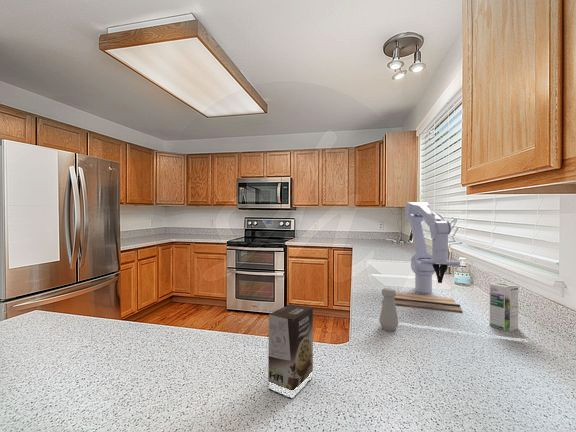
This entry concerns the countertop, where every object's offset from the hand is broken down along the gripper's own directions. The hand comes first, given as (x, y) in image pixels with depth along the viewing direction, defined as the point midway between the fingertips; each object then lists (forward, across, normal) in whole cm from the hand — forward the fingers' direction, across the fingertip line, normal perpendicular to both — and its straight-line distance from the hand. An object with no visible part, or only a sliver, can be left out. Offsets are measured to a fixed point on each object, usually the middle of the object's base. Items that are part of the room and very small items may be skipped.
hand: (439, 282), depth 121 cm
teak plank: (+8, -8, -1) cm, 11 cm away
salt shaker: (+9, -18, -37) cm, 42 cm away
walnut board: (+8, -8, -10) cm, 15 cm away
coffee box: (+9, -35, -77) cm, 86 cm away
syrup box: (+9, +16, -23) cm, 30 cm away
